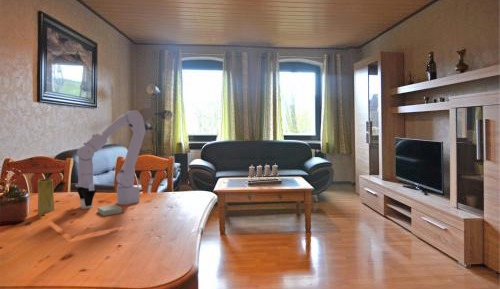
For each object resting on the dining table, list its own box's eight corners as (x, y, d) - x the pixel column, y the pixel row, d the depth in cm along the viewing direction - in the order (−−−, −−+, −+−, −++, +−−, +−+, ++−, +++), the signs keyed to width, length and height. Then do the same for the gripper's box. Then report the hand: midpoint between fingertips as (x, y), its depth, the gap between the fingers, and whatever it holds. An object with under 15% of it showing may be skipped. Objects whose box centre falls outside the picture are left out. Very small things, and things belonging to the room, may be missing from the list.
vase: (46, 216, 128) (45, 181, 127) (33, 215, 129) (32, 180, 128) (58, 212, 134) (57, 178, 133) (45, 211, 135) (45, 178, 134)
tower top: (115, 209, 134) (115, 204, 134) (121, 212, 129) (121, 207, 129) (97, 212, 129) (97, 207, 129) (103, 215, 124) (103, 210, 124)
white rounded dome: (90, 206, 141) (90, 197, 141) (94, 208, 138) (94, 199, 138) (78, 208, 138) (78, 198, 138) (82, 210, 134) (82, 200, 134)
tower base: (116, 213, 135) (116, 208, 135) (124, 217, 129) (124, 212, 129) (96, 217, 129) (96, 212, 129) (103, 221, 124) (103, 216, 124)
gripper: (70, 172, 139) (71, 203, 140) (81, 176, 129) (82, 209, 130) (87, 171, 144) (88, 200, 145) (99, 174, 134) (99, 206, 135)
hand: (86, 204), depth 138 cm, fingers closed on white rounded dome, 5 cm apart
